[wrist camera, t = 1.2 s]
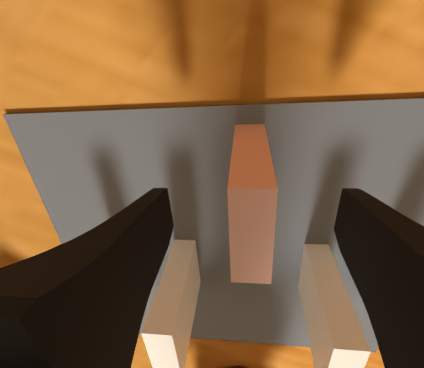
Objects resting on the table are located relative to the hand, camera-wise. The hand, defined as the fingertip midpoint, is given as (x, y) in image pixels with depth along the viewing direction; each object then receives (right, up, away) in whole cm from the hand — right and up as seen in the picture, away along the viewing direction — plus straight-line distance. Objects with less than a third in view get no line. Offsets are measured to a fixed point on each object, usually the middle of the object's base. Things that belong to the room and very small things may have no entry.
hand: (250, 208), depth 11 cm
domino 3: (+6, -5, +8) cm, 11 cm away
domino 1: (-3, -5, +9) cm, 11 cm away
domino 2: (+1, +2, +4) cm, 5 cm away
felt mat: (-1, -4, +9) cm, 10 cm away
